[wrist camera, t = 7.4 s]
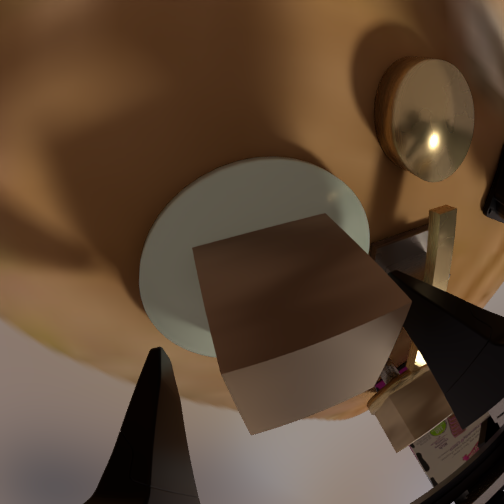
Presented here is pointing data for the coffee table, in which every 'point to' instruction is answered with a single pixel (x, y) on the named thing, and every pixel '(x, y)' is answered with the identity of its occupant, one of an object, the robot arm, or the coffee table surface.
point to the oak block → (413, 411)
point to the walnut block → (297, 318)
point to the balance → (421, 176)
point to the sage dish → (231, 232)
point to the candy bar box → (444, 444)
